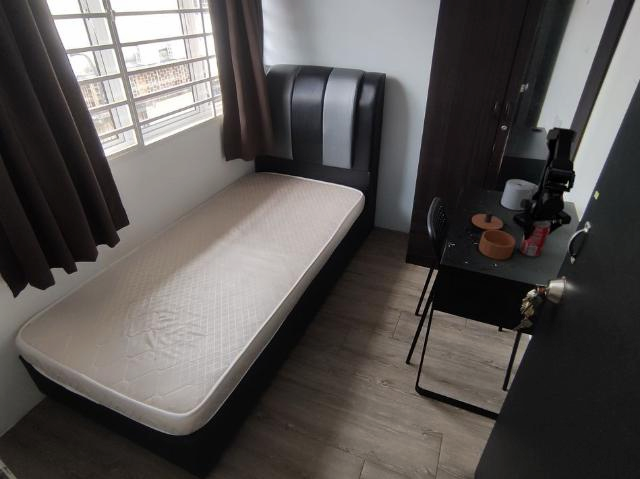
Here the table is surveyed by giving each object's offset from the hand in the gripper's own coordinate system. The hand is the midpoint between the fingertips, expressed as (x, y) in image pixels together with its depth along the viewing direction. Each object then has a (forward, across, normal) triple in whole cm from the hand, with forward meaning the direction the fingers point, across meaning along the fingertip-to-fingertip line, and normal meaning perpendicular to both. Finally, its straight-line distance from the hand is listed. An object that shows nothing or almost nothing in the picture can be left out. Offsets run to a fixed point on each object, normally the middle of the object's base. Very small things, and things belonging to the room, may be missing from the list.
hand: (534, 239), depth 138 cm
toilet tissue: (+6, -16, -34) cm, 38 cm away
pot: (+6, +12, -3) cm, 14 cm away
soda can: (+6, 0, 0) cm, 6 cm away
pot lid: (+5, +5, -21) cm, 22 cm away
